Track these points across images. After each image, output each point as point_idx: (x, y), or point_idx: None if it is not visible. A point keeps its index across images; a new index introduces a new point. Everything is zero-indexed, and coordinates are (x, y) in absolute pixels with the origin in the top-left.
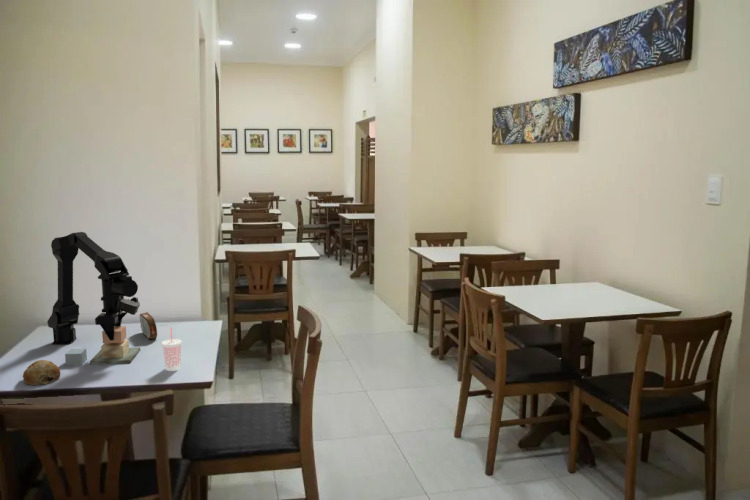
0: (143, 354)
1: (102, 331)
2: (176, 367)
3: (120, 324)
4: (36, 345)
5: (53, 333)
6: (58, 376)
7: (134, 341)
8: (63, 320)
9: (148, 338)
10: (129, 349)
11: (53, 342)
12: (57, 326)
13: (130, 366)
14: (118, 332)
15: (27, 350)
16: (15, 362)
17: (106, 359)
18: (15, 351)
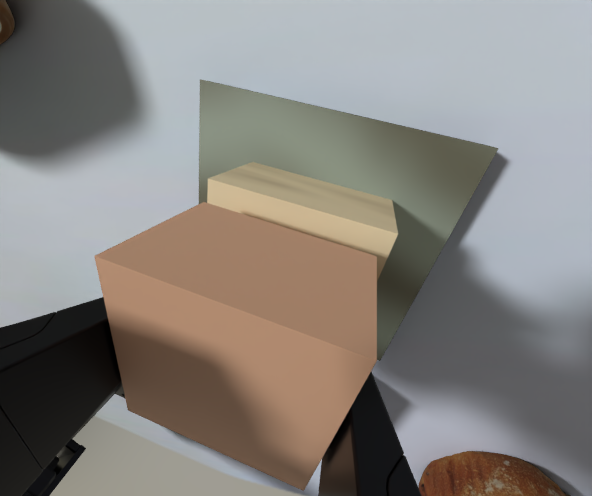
0: (311, 46)
1: (293, 485)
2: None
3: (70, 325)
4: (138, 417)
5: (89, 419)
6: (545, 479)
7: (64, 132)
8: (39, 477)
9: (6, 38)
10: (232, 160)
11: (121, 394)
12: (73, 456)
13: (588, 144)
14: (365, 369)
15: (175, 438)
16: (267, 475)
17: (387, 294)
18: (181, 453)
